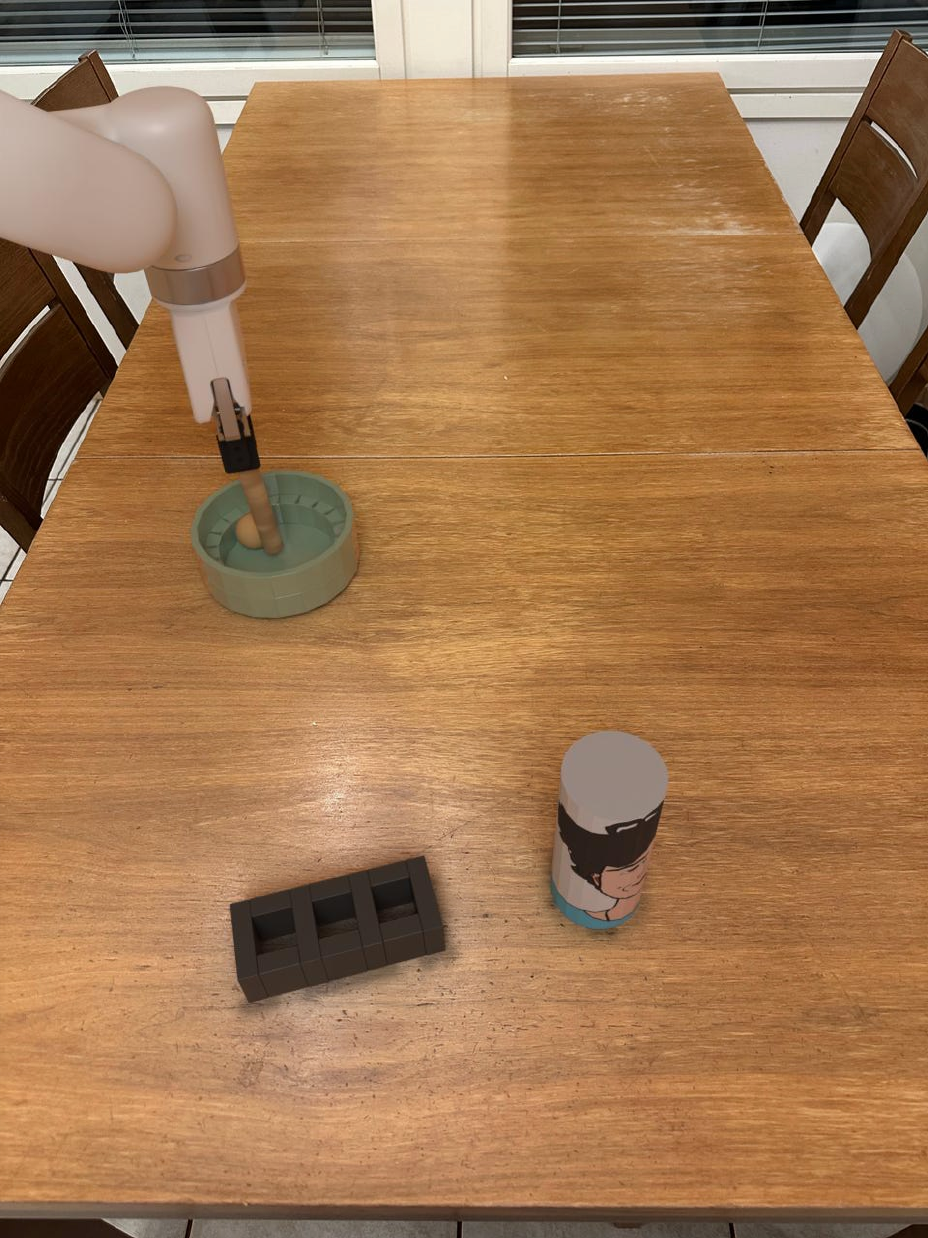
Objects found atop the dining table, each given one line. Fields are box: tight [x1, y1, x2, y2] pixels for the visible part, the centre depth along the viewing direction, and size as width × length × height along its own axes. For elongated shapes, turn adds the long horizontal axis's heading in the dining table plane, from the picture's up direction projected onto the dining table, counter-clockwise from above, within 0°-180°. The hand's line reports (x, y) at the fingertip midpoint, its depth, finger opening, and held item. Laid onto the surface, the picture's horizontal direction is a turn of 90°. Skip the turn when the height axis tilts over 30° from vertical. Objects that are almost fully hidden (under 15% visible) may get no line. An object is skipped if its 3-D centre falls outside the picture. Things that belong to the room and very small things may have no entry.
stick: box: [236, 414, 284, 554], centre depth 88 cm, size 2×2×16 cm
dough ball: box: [236, 513, 263, 549], centre depth 95 cm, size 4×4×4 cm
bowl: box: [189, 469, 361, 619], centre depth 92 cm, size 15×15×6 cm
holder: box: [229, 854, 446, 1004], centre depth 67 cm, size 14×6×4 cm, turn 105°
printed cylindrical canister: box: [549, 730, 670, 930], centre depth 65 cm, size 7×7×15 cm
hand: (241, 458), depth 87 cm, fingers closed on stick, 2 cm apart
